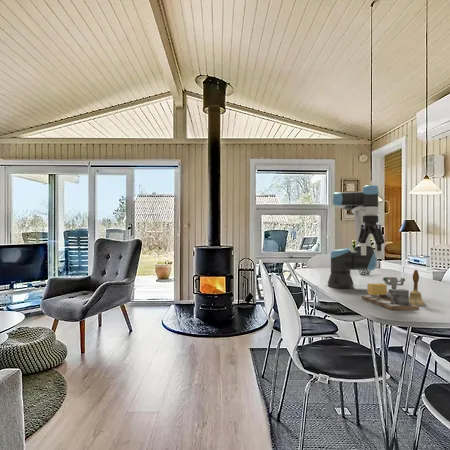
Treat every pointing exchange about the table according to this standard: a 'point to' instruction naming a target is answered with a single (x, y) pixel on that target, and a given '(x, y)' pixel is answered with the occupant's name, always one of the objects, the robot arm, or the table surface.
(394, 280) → the mechanical component
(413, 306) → the board
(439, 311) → the table surface
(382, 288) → the block
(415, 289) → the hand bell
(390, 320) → the table surface
